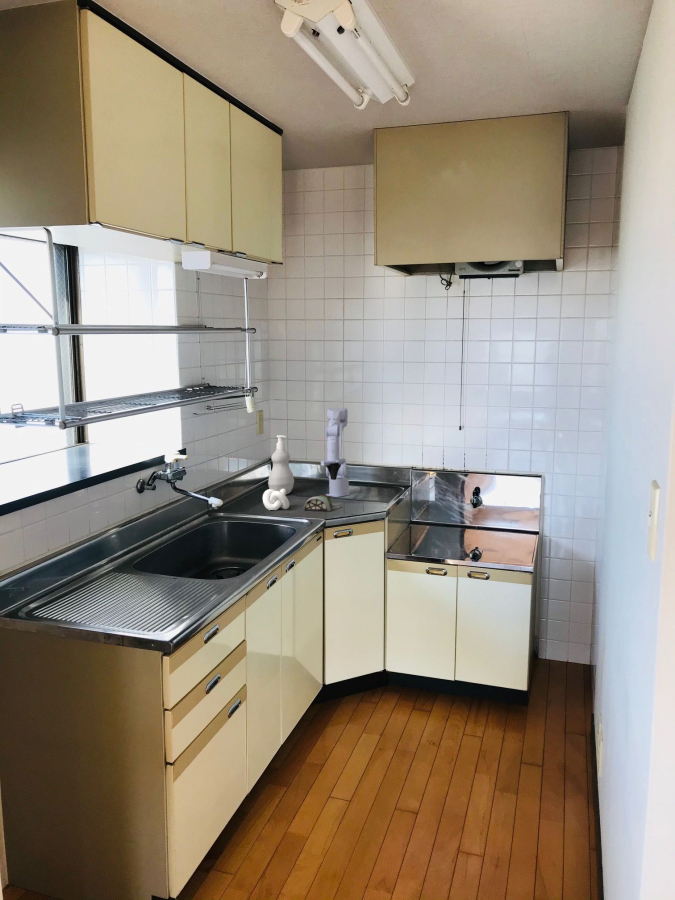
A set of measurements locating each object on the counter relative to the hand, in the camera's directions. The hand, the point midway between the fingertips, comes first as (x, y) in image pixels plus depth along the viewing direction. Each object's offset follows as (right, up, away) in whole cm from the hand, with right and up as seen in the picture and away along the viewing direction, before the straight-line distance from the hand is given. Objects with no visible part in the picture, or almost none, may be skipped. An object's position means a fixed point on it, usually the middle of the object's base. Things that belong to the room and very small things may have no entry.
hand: (333, 479), depth 336 cm
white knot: (-25, -13, -14) cm, 31 cm away
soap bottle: (-26, -8, +22) cm, 35 cm away
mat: (-5, -12, -11) cm, 17 cm away
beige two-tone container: (-5, -8, -11) cm, 15 cm away
